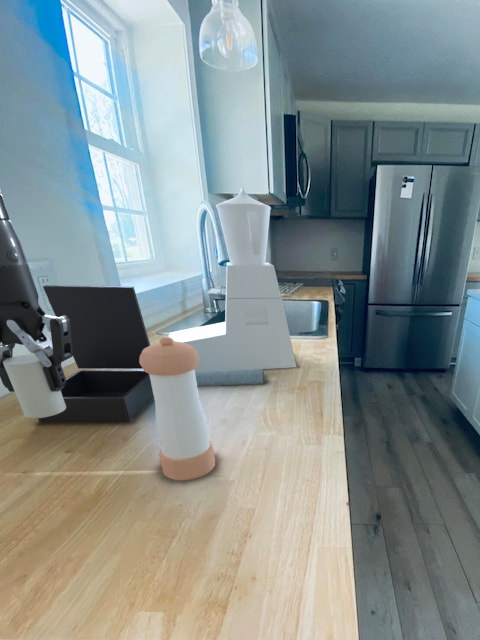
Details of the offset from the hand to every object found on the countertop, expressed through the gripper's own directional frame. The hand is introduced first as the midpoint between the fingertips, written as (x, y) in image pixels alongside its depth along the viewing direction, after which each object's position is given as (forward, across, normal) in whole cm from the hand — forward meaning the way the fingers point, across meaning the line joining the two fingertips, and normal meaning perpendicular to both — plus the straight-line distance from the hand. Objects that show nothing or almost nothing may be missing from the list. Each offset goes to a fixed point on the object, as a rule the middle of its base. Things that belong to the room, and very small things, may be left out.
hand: (37, 389), depth 53 cm
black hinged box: (+10, 0, -16) cm, 19 cm away
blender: (+10, -19, -46) cm, 51 cm away
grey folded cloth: (+10, -18, -30) cm, 36 cm away
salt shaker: (+10, -22, +6) cm, 25 cm away
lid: (-4, 0, -22) cm, 22 cm away
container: (+3, 0, 0) cm, 3 cm away
